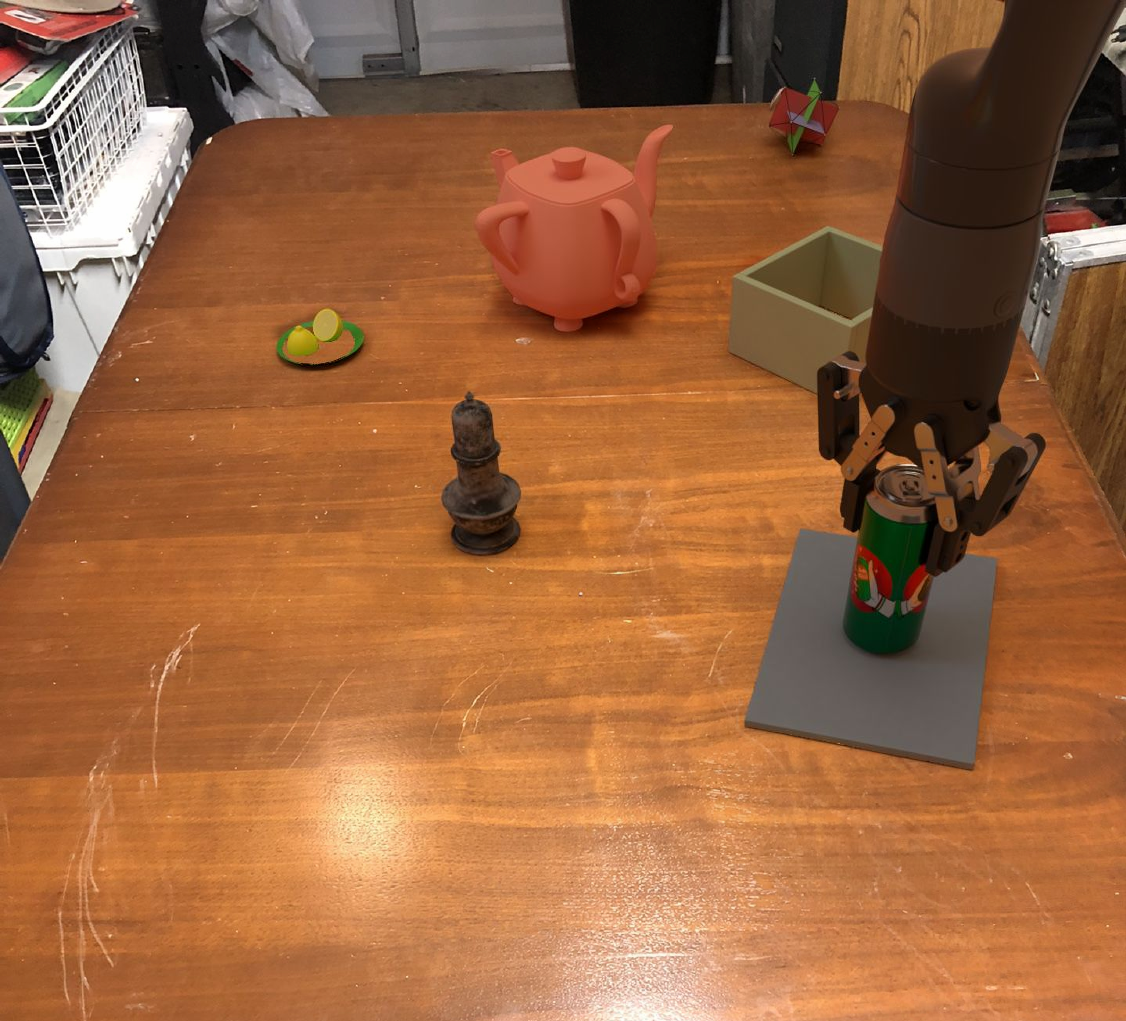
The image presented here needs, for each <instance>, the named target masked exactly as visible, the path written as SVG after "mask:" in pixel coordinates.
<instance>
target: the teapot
mask: <svg viewBox="0 0 1126 1021" xmlns="http://www.w3.org/2000/svg"><path fill="white" fill-rule="evenodd" d="M673 130H674V125H673V124H664V125H662V126H660V127H658V128H656V129H655V130H653V131H652V132H651V133H649V134H648V136H647V137H646V138H645V140H644V141H643V144H642V145H641V148H640V150H639V152H638V155H637V158H636V162H635V166H634V169H633V172H631V171H630V170H628V169H627V168H626V167H624V166H623V165H622V164H620V163H619V162H616V161H615V160H613V159H611V158H609V157H607V156H604V155H601V154H599V153H596V152H592V151H589V150H586V149H585V150H584V149H583V148H580V147H575V146H565V147H561V148H557V149H555V150H554V151H552V152H549V153H547V154H544V155H543V154H542V155H540V156H538V157H535V158H532V159H530V160H527V161H524V162H522V163H519V161H518V160H517V158H516V157H515V156H514V153H513V150H509V149H505V148H502V147H501V148H498V149H496V150H494V151H491V152H490V158H491V162H492V166H493V169H494V172H495V177H496V181H497V185H498V189H499V193H498V196H497V199H496V202H495V205H491V206H488V207H487V208H484V209H483V210H481V211H480V212H479V213H478V215H477V216H476V219H475V229H476V232H477V236H478V238H479V240H480V242H481V244H482V245H483V247H484V248H485V249H486V251H488V252H489V254H490V262H491V265H492V268H493V271H494V272H495V274H496V276H497V277H498V279H499V281H500V282H501V284H503V286H504V288H506V290H507V291H508V292H509V293H510V294H511V295H512V301H513V303H514V304H516V305H518V306H526V307H529V308H531V309H533V310H536V311H538V312H540V313H543V314H546V315H547V316H552V317H554V322H553V327H554V328H555V329H556V330H558V331H560V332H563V333H564V332H565V333H568V332H569V333H570V332H575V331H578V330H580V329H582V327H583V326H584V320H583V319H586V318H589V317H593V316H596V315H599V314H602V313H604V312H606V311H609V310H611V309H615V308H621V309H622V308H630V307H633V306H635V305H636V304H637V303H638V297H639V296H640V295H642V294H643V293H644V292H645V291H646V290H647V288H648V286H649V285H650V283H651V281H652V280H653V278H654V276H655V274H656V271H657V268H658V249H657V241H656V235H655V229H654V225H653V220H652V216H653V214H654V210H655V206H656V200H657V188H658V186H657V184H658V183H657V181H658V180H657V178H658V162H659V157H660V153H661V150H662V147H663V145H664V143H665V141H666V140H667V139H668V137H669V135H670V134H671V133H672V131H673Z"/></svg>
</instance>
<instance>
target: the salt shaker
mask: <svg viewBox="0 0 1126 1021" xmlns="http://www.w3.org/2000/svg"><path fill="white" fill-rule="evenodd" d="M450 416H451V417H450V418H451V427H452V434H453V439H454V443H453V444H452V445H451V447H450V455H451V458H452V459H453V460H454V461H455V463H456V471H457V477H455V478H453V479H451V480H450V481H449V482H448V483H447V484H446V485H445V487H444V488H443V490H442V491H441V496H440V500H441V503H442V506H443V507H444V509H445V510H446V511H447V513H448V515H449V516H450V518H451V520H452V521H453V522H454V525H453V526H452V528H451V531H450V538H451V543H452V544H453V545H454V546H455V547H456V548H457V549H459V550H460V551H461V552H464V553H467V554H469V555H475V556H491V555H496V554H499V553H503V552H505V551H508V549H510V548H512V547H513V546H515V544H516V543H517V542H518V540H519V539H520V537H521V531H522V530H521V529H522V528H521V526H520V522H519V521H518V520H517V519H516V518H515V517H514V516H515V514H516V511H517V508H518V504H519V502H520V500H521V497H522V489H521V486H520V484H519V483H518V481H517V480H516V479H515V478H513V477H512V476H510V475H508V473H507V474H506V473H503V472H500V466H499V456H500V454H501V453H502V446H501V443H500V441H498V440H497V439H495V438H496V437H495V429H494V428H495V427H494V418H493V412H492V410H491V407H490V406H489V404H487V403H486V402H485V401H482V400H480V399H477V398H475V395H474V394H473V393H472V392H471V391H470V390H469V391H466V393H465V395H464V400H461V401H459V402H457V403H456V404H455V406H454V407H453V408H452V410H451V415H450Z"/></svg>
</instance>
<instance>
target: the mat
mask: <svg viewBox="0 0 1126 1021" xmlns="http://www.w3.org/2000/svg"><path fill="white" fill-rule="evenodd" d="M857 537H858V536H853V535H848V534H840V533H834V532H827V531H820V530H814V529H813V530H812V529H808V528H800V529H799V531H798V535H797V538H796V542H795V546H794V548H793V552H792V556H791V559H790V562H789V566H788V569H787V573H786V577H785V579H784V580H785V581H784V583H783V587H782V590H781V593H780V597H779V601H778V604H777V608H776V610H775V614H774V618H773V622H772V625H771V627H770V628H771V629H770V632H769V635H768V639H767V642H766V645H765V649H764V652H763V655H762V659H761V663H760V665H759V670H758V673H757V677H756V680H755V684H754V687H753V691H752V694H751V697H750V700H749V703H748V704H749V705H748V708H747V711H746V714H745V718H744V724H743V726H744V727H747V728H751V729H756V728H757V729H756V730H761V731H766V732H772V733H777V732H778V734H782V733H785V734H784V735H787V734H789V735H788V736H793V735H796V736H795V737H798V736H801V737H800V738H803V737H805V738H804V739H808V738H810V739H809V740H813V739H818V740H817V741H819V740H822V741H821V742H824V741H825V742H824V743H829V742H832V743H831V744H834V743H840V744H843V745H842V746H844V745H847V746H846V747H850V746H854V747H853V748H855V747H857V748H856V749H860V748H861V749H862V750H865V751H870V750H871V751H870V752H876V753H882V754H887V755H891V754H892V755H891V756H896V757H902V758H907V757H908V759H912V760H918V761H922V762H927V761H929V762H928V763H932V764H938V763H939V764H938V765H943V764H944V765H943V766H948V765H949V767H953V766H954V768H959V769H963V770H964V769H965V770H969V769H970V771H973V769H974V768H975V764H976V756H977V755H976V754H977V747H978V737H979V727H980V719H981V710H982V703H983V702H982V700H983V693H984V684H985V675H986V665H987V656H988V648H989V639H990V631H991V621H992V614H993V613H992V612H993V605H994V596H995V595H994V594H995V587H996V586H995V585H996V576H997V569H998V559H999V558H998V557H991V556H985V555H978V554H972V553H965V556H964V558H963V559H962V560H961V561H960V562H959V563H958V564H957V565H955V566H954V567H953V568H952V569H950V570H949V571H948V572H946V573H945V572H943V573H941V574H940V575H939V576H937V577H934V579H933V583H932V587H931V591H930V595H929V599H928V603H927V607H926V611H925V615H924V620H923V624H922V628H921V632H920V636H919V638H918V640H917V641H916V643H915V644H914V645H912V646H911V647H909V648H908V649H906V650H904V651H901V652H899V653H895V654H890V655H877V654H872V653H869V652H866V651H864V650H862V649H860V648H858V647H857V646H856V645H854V644H853V643H852V642H851V641H850V640H849V639H848V637H847V636H846V634H845V632H844V630H843V617H844V611H845V605H846V600H847V594H848V588H849V583H850V577H851V571H852V566H853V560H854V554H855V548H856V543H857ZM791 734H792V735H791ZM828 741H829V742H828Z"/></svg>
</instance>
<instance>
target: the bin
mask: <svg viewBox="0 0 1126 1021" xmlns="http://www.w3.org/2000/svg"><path fill="white" fill-rule="evenodd" d="M882 248H883V245H880V244H878V243H875V242H873V241H870V240H867V239H865V238H862V237H859V236H856V235H854V234H851V233H848V232H846V231H844V230H841V229H838V228H836V227H833V226H830V225H826V226H824V227H823V228H821V229H819V230H817V231H816V232H813V233H812V234H809V235H808V236H806V237H804V238H802V239H800V240H798V241H797V242H795V243H792V244H790V245H788V246H787V247H785V248H783V249H781V250H779V251H776V253H774V254H772V255H770V256H768V257H766V258H764V259H762V260H761V261H759V262H756V263H754V264H753V265H751V266H749V267H747V268H745V269H743V270H741V271H740V272H737V273H736V274H734V275H733V276H732V281H731V282H732V283H731V297H730V312H729V313H730V314H729V327H728V328H729V331H728V346H727V352H729V353H730V354H732V355H734V356H737V357H739V358H741V359H742V360H744V361H747V362H749V363H751V364H753V365H755V366H758V367H759V368H761V369H763V370H766V371H768V372H769V373H772V374H774V375H776V376H778V377H781V378H782V379H784V380H787V381H789V382H791V383H793V384H795V385H798V386H800V387H801V388H804V389H805V390H808V391H810V392H812V393H814V394H816V395H817V371H818V369H819V368H820V367H822V366H824V365H825V364H827V363H828V362H829V361H831V360H833V359H834V358H836V357H838V356H840V355H842V354H844V353H845V352H847V351H852V352H854V353H855V354H856V355H857V356H858V358H859V362H862V363H866V359H865V355H866V348H867V341H868V335H869V329H870V323H871V316H872V310H873V304H874V298H875V291H876V286H877V279H878V273H879V267H880V265H879V264H880V258H881V254H882ZM824 308H825V309H824ZM826 309H827V310H826ZM838 314H839V315H838ZM843 316H844V317H843ZM845 317H846V318H845Z"/></svg>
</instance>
